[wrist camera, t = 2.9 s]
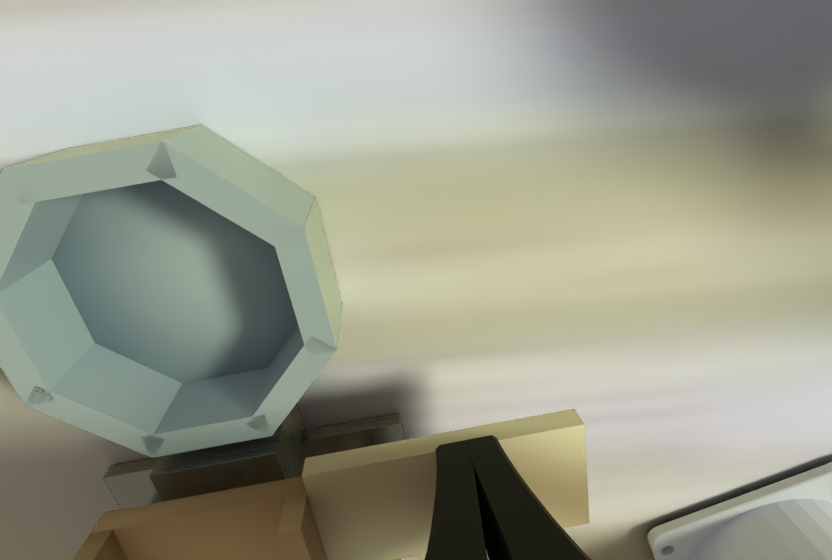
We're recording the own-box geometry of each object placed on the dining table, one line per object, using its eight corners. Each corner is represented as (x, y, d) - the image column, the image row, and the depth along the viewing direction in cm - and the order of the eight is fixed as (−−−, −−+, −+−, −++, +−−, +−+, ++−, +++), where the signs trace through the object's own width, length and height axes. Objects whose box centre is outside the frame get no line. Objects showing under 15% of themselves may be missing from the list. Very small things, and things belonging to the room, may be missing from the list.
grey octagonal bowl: (358, 366, 15) (356, 421, 13) (112, 411, 15) (67, 474, 12) (293, 107, 12) (275, 120, 9) (-22, 163, 11) (-113, 188, 9)
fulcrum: (422, 521, 18) (442, 690, 13) (169, 568, 18) (96, 756, 13) (389, 369, 15) (398, 515, 10) (86, 424, 15) (-46, 598, 10)
